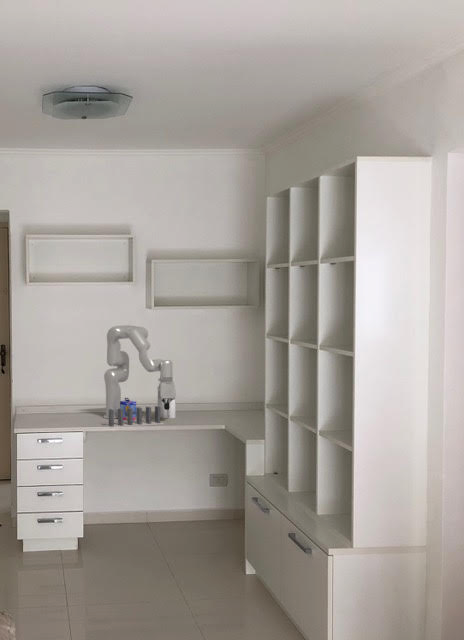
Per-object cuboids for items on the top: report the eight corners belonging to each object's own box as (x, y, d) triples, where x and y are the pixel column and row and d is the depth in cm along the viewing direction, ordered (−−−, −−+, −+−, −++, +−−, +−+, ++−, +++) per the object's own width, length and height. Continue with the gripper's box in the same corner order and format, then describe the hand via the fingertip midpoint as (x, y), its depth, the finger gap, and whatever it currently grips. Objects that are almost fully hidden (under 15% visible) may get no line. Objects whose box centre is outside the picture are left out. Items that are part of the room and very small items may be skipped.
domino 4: (139, 424, 577) (139, 408, 576) (136, 423, 581) (136, 407, 581) (142, 424, 578) (141, 408, 577) (139, 423, 582) (138, 407, 582)
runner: (104, 425, 576) (104, 424, 576) (157, 421, 591) (157, 421, 591) (110, 428, 565) (110, 427, 565) (165, 424, 580) (165, 423, 580)
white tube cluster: (157, 418, 605) (157, 387, 604) (157, 417, 612) (157, 386, 611) (175, 418, 606) (175, 387, 605) (175, 416, 613) (175, 386, 612)
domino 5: (148, 423, 579) (148, 407, 579) (145, 422, 584) (145, 406, 584) (151, 423, 580) (151, 407, 580) (148, 422, 585) (148, 406, 584)
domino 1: (111, 426, 569) (111, 410, 569) (108, 425, 573) (108, 409, 573) (113, 426, 570) (113, 409, 569) (111, 425, 574) (111, 408, 574)
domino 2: (120, 425, 572) (120, 409, 571) (118, 424, 576) (117, 408, 576) (123, 425, 572) (123, 409, 572) (120, 424, 577) (120, 408, 576)
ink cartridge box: (119, 420, 598) (119, 397, 598) (125, 419, 603) (125, 396, 602) (130, 421, 592) (130, 398, 592) (136, 420, 596) (136, 397, 596)
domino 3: (130, 425, 574) (130, 408, 574) (127, 424, 579) (127, 407, 578) (132, 425, 575) (132, 408, 575) (129, 424, 579) (129, 407, 579)
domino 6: (157, 423, 582) (157, 407, 582) (154, 422, 587) (154, 406, 586) (160, 423, 583) (160, 406, 582) (157, 422, 587) (157, 406, 587)
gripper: (157, 381, 580) (157, 411, 580) (180, 379, 586) (180, 409, 587) (153, 380, 586) (153, 409, 587) (175, 379, 593) (175, 408, 594)
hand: (166, 409), depth 587 cm, fingers closed
